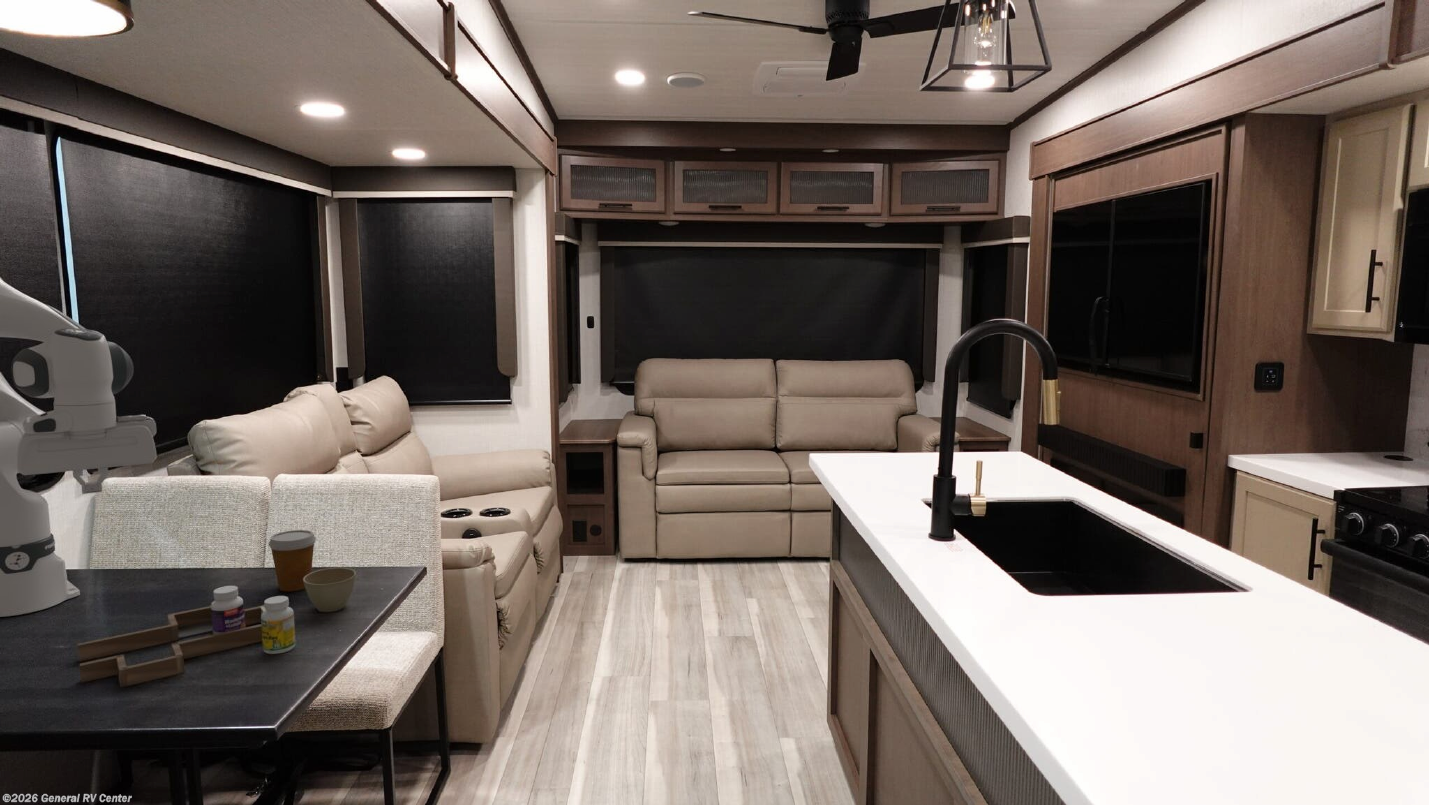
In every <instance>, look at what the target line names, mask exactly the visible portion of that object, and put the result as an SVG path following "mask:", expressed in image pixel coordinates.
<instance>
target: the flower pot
mask: <svg viewBox="0 0 1429 805" xmlns="http://www.w3.org/2000/svg"><path fill="white" fill-rule="evenodd" d="M356 576H357V573H356V571H355V570H354V569H352V568H348V567H330V568H329V567H328V568H323V569H318V570H314V571H311V573H309V574H308V575H306V576H305V577H304V578H303V581H304V586H305V591H306V594H307V596H308V598H309V600H310V602H311V603H312V604H313V606H314V607H315V608H316V609H317V611H319V612H321V613H333V612H338V611H340V610H341V609H343V608H344V607H345V606H346V604H347V603H348V601H349V599H350V597H351V594H352V593H353V590H354V586H355V581H356Z"/></svg>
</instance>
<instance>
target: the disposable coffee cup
mask: <svg viewBox="0 0 1429 805" xmlns="http://www.w3.org/2000/svg"><path fill="white" fill-rule="evenodd" d="M316 540H317V537H316V536H315V534H314V532H313V531H312V530H307V529H293V530H285V531H281V532H278V533H274V534H273V535H271V536H270V539H269V542H268V543H267V544H268V547H269V548H270V549H271V555H272V559H273V564H274V569H275V575H276V578H277V584H278V589H279V590H280V591H282V592H297V591H301V590H304V589H305V586H304V581H303V578H304V577H305V576H306V575H308V574H309V573H312V572H313V571H312V570H313V560H314V559H313V558H314V550H315V549H314V548H315V544H316ZM305 590H306V589H305Z"/></svg>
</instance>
